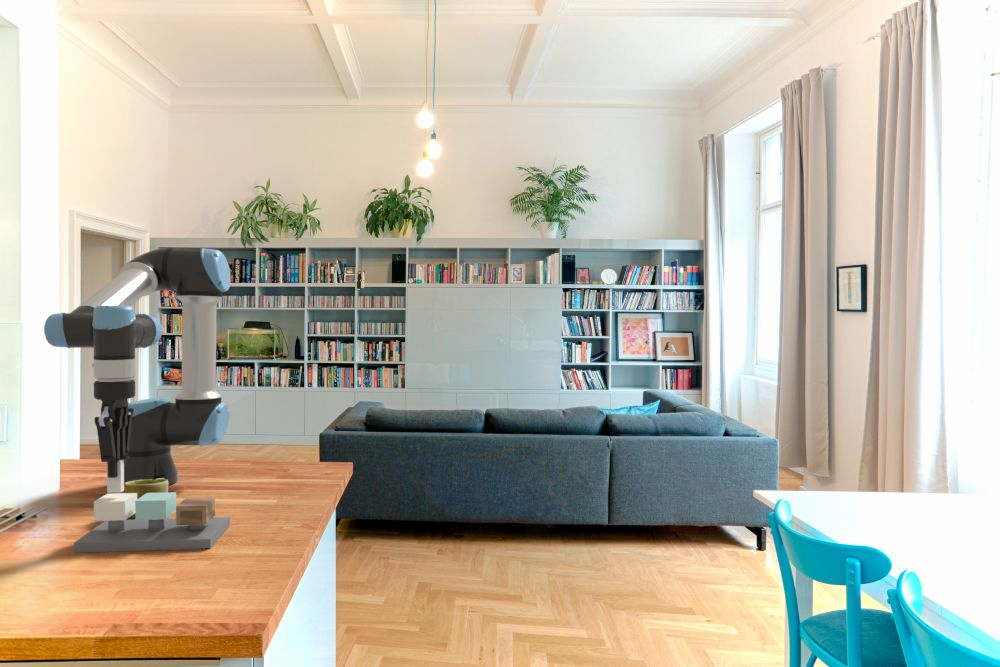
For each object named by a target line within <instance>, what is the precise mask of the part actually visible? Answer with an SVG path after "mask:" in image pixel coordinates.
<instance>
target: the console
mask: <svg viewBox="0 0 1000 667" xmlns="http://www.w3.org/2000/svg"><path fill="white" fill-rule="evenodd" d="M230 520H231V517H230V516H225V517H224V516H223V517H222V516H219V517H215V516H214V517H213V518H212V519H211V520H210V521H209V522H208V523H207V524H206V525H176V517H175V518H174V517H173V518H167V519H162V520H135V519H126V520H120V521H102V523H100V524H98V525H97V526H95V527H94V528H93V529H91V530H90V531H89V532H87V533H85V534H84V535H83V536H82V537H81V538H78V539H77V540H76V541H75V542H74V543H73V553H107V552H108V553H109V552H112V553H113V552H140V551H141V552H143V551H144V552H146V551H147V552H148V551H173V550H174V551H175V550H176V551H177V550H180V549H181V550H205V548H211V547H212V548H213V546H215V544H216V543H217V542H218V540H219V539H220V538H221V537H222V536H223V535H224V534H225V532H226V531H227V530H228V529H229V528H230V526H231V525H230V524H231V521H230ZM227 528H228V529H227ZM226 529H227V530H226ZM225 530H226V531H225ZM222 534H223V535H222ZM221 535H222V536H221ZM220 536H221V537H220ZM216 541H217V542H216ZM215 542H216V543H215ZM214 543H215V544H214ZM201 548H203V549H201ZM212 548H211V549H212ZM181 550H180V551H181Z"/></svg>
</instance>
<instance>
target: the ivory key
mask: <svg viewBox="0 0 1000 667" xmlns="http://www.w3.org/2000/svg"><path fill="white" fill-rule="evenodd" d="M136 500H137V493H124V492H116V493H106V494H105V495H102V496H101V497H99V498H98V499H96V500H95V501H93V521H94V522H105V521H120V520H129V519H130V518H129V517H130V516H132V515H133V514H134V513H135V501H136Z"/></svg>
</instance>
